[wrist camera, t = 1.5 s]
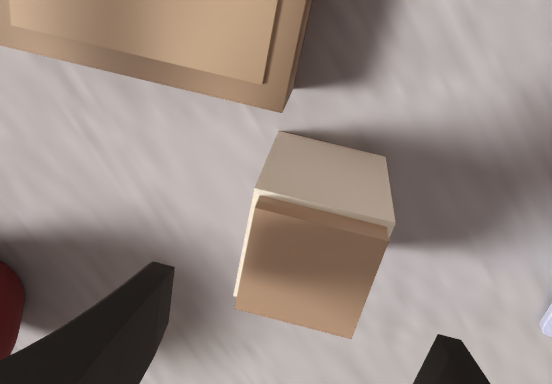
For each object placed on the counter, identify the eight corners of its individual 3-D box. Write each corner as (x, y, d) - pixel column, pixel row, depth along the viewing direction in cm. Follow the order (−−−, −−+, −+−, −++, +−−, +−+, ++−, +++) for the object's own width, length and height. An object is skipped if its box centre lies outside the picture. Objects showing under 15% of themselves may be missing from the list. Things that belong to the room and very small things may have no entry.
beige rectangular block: (385, 156, 19) (397, 237, 13) (355, 244, 21) (355, 344, 15) (278, 130, 19) (249, 200, 13) (259, 220, 21) (227, 311, 16)
